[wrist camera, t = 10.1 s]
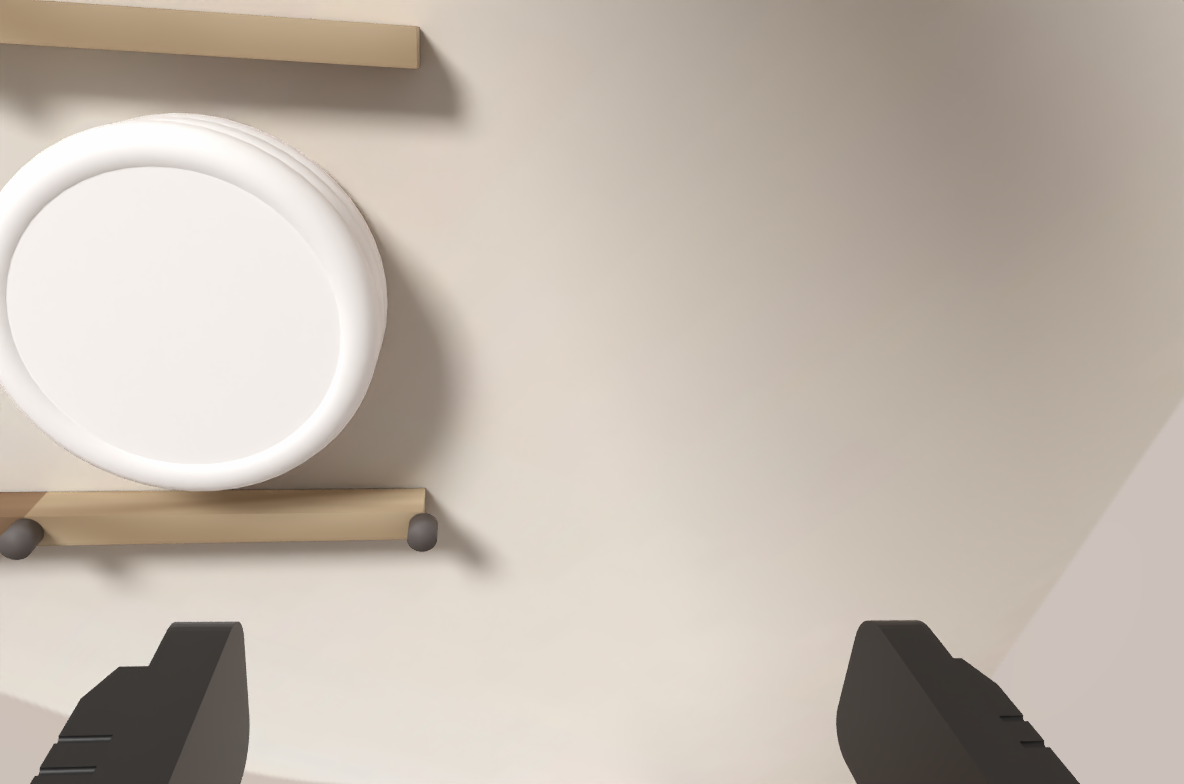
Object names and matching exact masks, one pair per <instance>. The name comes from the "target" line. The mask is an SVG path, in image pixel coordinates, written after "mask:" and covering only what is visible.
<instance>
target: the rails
mask: <svg viewBox="0 0 1184 784" xmlns="http://www.w3.org/2000/svg"><path fill="white" fill-rule="evenodd" d="M0 43H7V44H23V45H39V46H55V47H71V48H88V49H104V50H120V51H136V52H152V53H168V54H185V55H201V56H217V57H233V58H249V59H266V60H282V61H298V62H314V63H330V64H346V65H363V66H379V67H395V68H411V69H418V68H419V67H420V27H417V26H403V25H389V24H374V23H360V22H345V21H331V20H316V19H302V18H287V17H273V16H258V15H244V14H229V13H215V12H200V11H186V10H171V9H157V8H142V7H128V6H113V5H99V4H84V3H70V2H55V1H41V0H0ZM437 530H438V523H437V520H436V519H435V517H434V516H432V515H430V514H427V513H426V499H425V488H414V489H305V490H219V491H89V492H0V553H1V554H2V555H4V556H5V557H7V558H10V559H14V560H19V559H24V558H26V557H27V556H28V555H29V554H30V553H31V552H32V551H33V550H34V548H35V547H36V546H59V545H116V544H172V543H228V542H284V541H340V540H396V539H407V542H408V544H409V546H410V547H411V548H412V549H414V550H416V551H420V552H423V551H428V550H430V549H432V548H433V547H434V546H435V544H436V542H437Z"/></svg>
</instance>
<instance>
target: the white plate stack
mask: <svg viewBox="0 0 1184 784" xmlns="http://www.w3.org/2000/svg"><path fill="white" fill-rule="evenodd" d="M387 308H388V301H387V286H386V278H385V274H384V269H383V264H382V259H381V256H380V254H379V251H378V248H377V245H376V242H375V240H374V237H373V235H372V233H371V231H370V229H369V227H368V226H367V224H366V222H365V220H364V218H363V216H362V215H361V213H360V212H359V210H358V209H357V207H356V206H355V204H354V203H353V201H352V200H351V199H350V197H349V196H348V195H347V194H346V193H345V191H344V190H343V189H342V188H341V187H340V186H339V185H338V183H337V182H336V181H335V180H334V179H333V178H332V177H331V176H330V175H329V174H327V173H326V172H325V171H324V170H323V169H322V168H321V167H320V166H319V165H318V164H316V163H315V162H314V161H312V160H311V159H310V158H308V157H307V156H305V155H304V154H303V153H301V152H300V151H298V150H297V149H296V148H294V147H292V146H290V145H289V144H287V143H285V142H283V141H281V140H280V139H278V138H276V137H274V136H272V135H270V134H268V133H265V132H263V131H261V130H258V129H256V128H254V127H251V126H249V125H245V124H242V123H239V122H235V121H232V120H229V119H225V118H220V117H214V116H208V115H203V114H189V113H166V114H154V115H147V116H142V117H137V118H133V119H128V120H124V121H120V122H116V123H111V124H108V125H103V126H99V127H94V128H90V129H87V130H85V131H82V132H80V133H77V134H74V135H72V136H69V137H66V138H64V139H63V140H61V141H59V142H57V143H56V144H54V145H52V146H50V147H49V148H47V149H45V150H43V151H42V152H40V153H39V154H38V155H37V156H35V157H34V158H33V159H32V160H31V161H29V162H28V163H27V164H26V165H24V166H23V167H22V168H21V169H20V170H19V171H18V172H17V173H16V174H15V175H14V177H13V178H12V179H11V180H10V181H9V182H8V183H7V184H6V186H5V187H4V188H3V189H2V191H1V192H0V384H1V386H2V388H3V389H4V390H5V392H6V393H7V394H8V395H9V397H10V398H11V399H12V401H13V402H14V403H15V405H16V406H17V407H18V408H19V409H20V410H21V412H22V413H23V414H24V415H25V416H26V417H27V418H28V419H29V420H30V421H31V422H32V423H33V424H34V425H35V426H36V427H37V428H38V429H40V430H41V431H42V432H43V433H44V434H46V435H47V436H48V437H49V438H50V439H52V440H53V441H54V442H55V443H57V444H58V445H60V446H61V447H63V448H64V449H66V450H67V451H69V452H70V453H72V454H73V455H75V456H76V457H78V458H80V459H82V460H84V461H86V462H88V463H90V464H92V465H93V466H95V467H97V468H99V469H102V470H104V471H107V472H109V473H112V474H114V475H117V476H119V477H122V478H125V479H128V480H132V481H135V482H138V483H141V484H145V485H150V486H155V487H160V488H165V489H172V490H183V491H219V490H227V489H235V488H241V487H245V486H249V485H253V484H257V483H261V482H264V481H266V480H269V479H272V478H274V477H277V476H280V475H282V474H284V473H286V472H288V471H290V470H291V469H293V468H295V467H297V466H299V465H301V464H302V463H304V462H305V461H307V460H308V459H310V458H311V457H312V456H314V455H315V454H317V453H318V452H319V451H321V450H322V449H323V448H325V447H326V446H327V445H328V444H329V443H330V442H331V441H332V440H333V439H334V438H335V437H336V436H337V435H338V434H339V433H340V432H341V431H342V430H343V429H344V427H345V426H346V425H347V424H348V422H349V421H350V420H351V418H352V417H353V416H354V414H355V413H356V411H357V409H358V407H359V406H360V404H361V402H362V400H363V398H364V397H365V395H366V392H367V390H368V387H369V385H370V382H371V380H372V377H373V375H374V371H375V366H376V363H377V360H378V357H379V352H380V349H381V346H382V342H383V338H384V333H385V329H386V321H387Z"/></svg>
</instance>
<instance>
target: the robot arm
mask: <svg viewBox="0 0 1184 784" xmlns="http://www.w3.org/2000/svg"><path fill="white" fill-rule="evenodd" d="M836 726H837V736H838V742H839V746H840V749H841V753H842V755H843V758H844V760H845V762H846V764H847V766H848V768H849V770H850V771H851V773H852V775H853V777H854V779H855V781H856V783H857V784H1080V783H1079V782H1078V781H1077V780H1076V778H1075V777H1074V776H1073V775H1072V774H1071V772H1070V771H1069V770H1068V769H1067V768H1066V767H1065V765H1064V764H1063V763H1062V762H1061V760H1060V759H1059V758H1058V757H1057V756H1056V754H1055V753H1054V752H1053V751H1052V750H1051V748H1050V747H1049V748H1048V747H1045V745H1044V740H1043V739H1042V737H1041V736H1040V735H1039V734H1038V733H1037V731H1036V730H1035V729H1034V728H1033V727H1032V725H1031V724H1030V723H1029V722H1028V721H1024V720H1023V715H1022V713H1021V712H1020V711H1019V710H1018V709H1017V707H1016V706H1015V705H1014V704H1013V702H1012V701H1011V700H1010V699H1009V698H1008V696H1007V695H1006V694H1005V693H1004V692H1003V690H1002V689H1001V688H1000V687H999V686H998V685H997V684H996V683H995V682H993V681H992V680H991V679H989V678H988V677H987V676H985V675H984V674H982V673H981V672H980V671H978V670H977V669H976V668H974V667H973V666H971V665H970V664H969V663H967V662H966V661H965V660H963V659H962V658H953V657H952V656H951V655H950V653H949V652H948V651H947V650H946V648H945V647H944V646H943V645H942V643H941V642H940V641H939V640H938V638H937V637H936V636H935V634H934V633H933V632H932V631H931V629H930V628H929V627H928V626H927V625H926V624H925V623H923V622H921V621H918V620H890V621H865V622H863V623H862V624H861V625H860V627H859V629H858V631H857V633H856V637H855V641H854V645H853V649H852V653H851V657H850V661H849V665H848V669H847V673H846V677H845V681H844V685H843V689H842V693H841V697H840V701H839V705H838V709H837V718H836ZM248 743H249V706H248V691H247V676H246V661H245V646H244V633H243V628H242V625H241V623H240V622H174V623H172V624H171V626H170V627H169V628H168V630H167V632H166V634H165V636H164V637H163V639H162V641H161V643H160V645H159V647H158V649H157V651H156V653H155V655H154V657H153V659H152V661H151V663H150V665H149V666H138V667H118V668H117V669H116V670H115V671H113V672H112V673H111V674H110V675H109V676H107V677H106V678H105V679H104V680H103V681H101V682H100V683H99V684H98V685H97V686H96V687H94V688H93V689H92V690H91V691H90V692H88V693H87V694H86V695H85V696H84V697H82V698H81V699H80V701H79V703H78V704H77V706H76V708H75V709H74V711H73V713H72V715H71V716H70V718H69V720H68V721H67V723H66V725H65V726H64V728H63V730H62V731H61V733H60V735H59V740H58V743H57V744H54V745H53V747H52V748H51V750H50V751H49V753H48V755H47V756H46V758H45V760H44V762H43V763H42V765H41V767H40V772H39V775H38V776H35V777H34V778H33V780H32V782H31V783H30V784H240V783H241V780H242V776H243V773H244V768H245V764H246V758H247V752H248Z"/></svg>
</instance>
